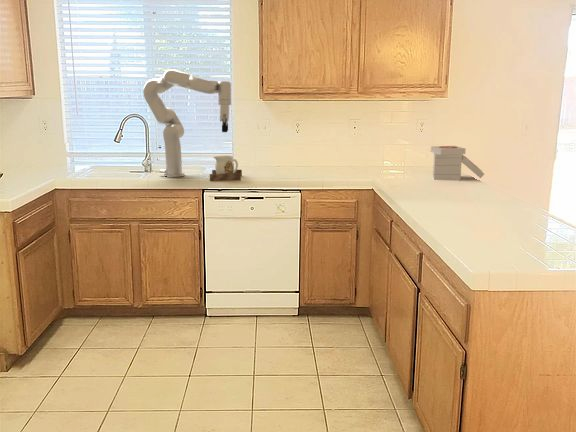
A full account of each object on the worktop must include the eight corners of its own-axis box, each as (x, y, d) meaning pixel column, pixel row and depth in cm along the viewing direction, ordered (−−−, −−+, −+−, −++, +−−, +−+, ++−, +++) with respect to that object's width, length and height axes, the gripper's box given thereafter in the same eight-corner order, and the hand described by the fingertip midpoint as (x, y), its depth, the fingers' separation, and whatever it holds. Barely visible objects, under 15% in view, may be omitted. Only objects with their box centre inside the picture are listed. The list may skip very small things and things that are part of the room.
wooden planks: (209, 181, 348) (209, 174, 347) (212, 176, 365) (212, 169, 364) (240, 180, 349) (240, 173, 348) (241, 175, 365) (241, 169, 364)
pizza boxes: (484, 181, 338) (486, 149, 334) (430, 180, 344) (431, 149, 340) (480, 176, 356) (482, 145, 352) (429, 175, 362) (430, 145, 358)
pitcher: (243, 177, 359) (243, 155, 356) (220, 181, 347) (219, 158, 344) (232, 175, 367) (231, 153, 364) (208, 179, 354) (207, 156, 351)
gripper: (219, 101, 362) (219, 130, 366) (217, 103, 345) (218, 132, 349) (231, 101, 362) (231, 130, 366) (230, 103, 346) (230, 132, 349)
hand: (225, 131), depth 358 cm, fingers open, 9 cm apart
